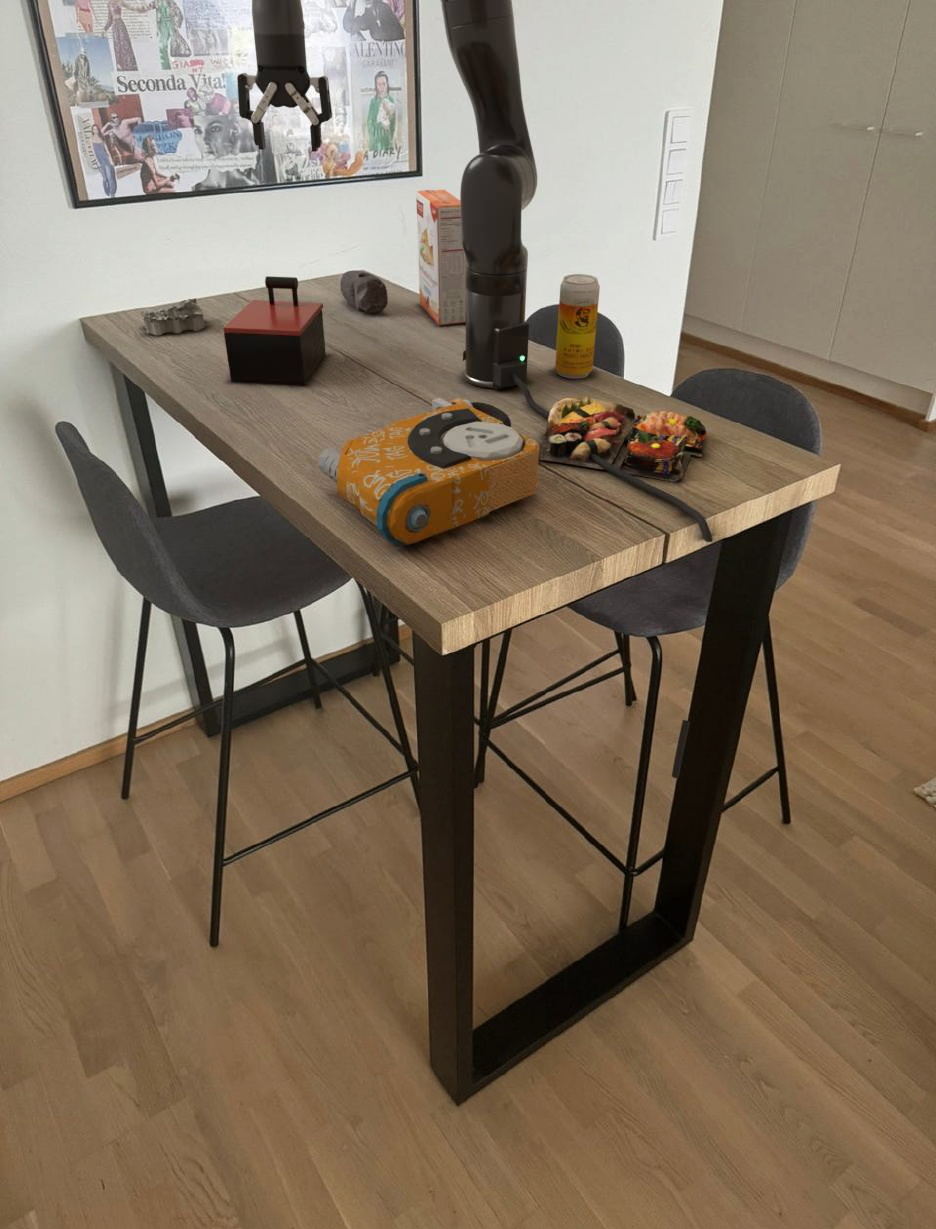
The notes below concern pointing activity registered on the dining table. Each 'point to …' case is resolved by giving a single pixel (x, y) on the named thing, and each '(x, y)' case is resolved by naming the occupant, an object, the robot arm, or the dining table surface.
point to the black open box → (276, 355)
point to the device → (434, 470)
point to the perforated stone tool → (364, 291)
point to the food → (622, 437)
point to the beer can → (577, 325)
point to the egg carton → (175, 318)
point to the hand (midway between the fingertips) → (288, 150)
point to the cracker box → (441, 257)
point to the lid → (275, 312)
